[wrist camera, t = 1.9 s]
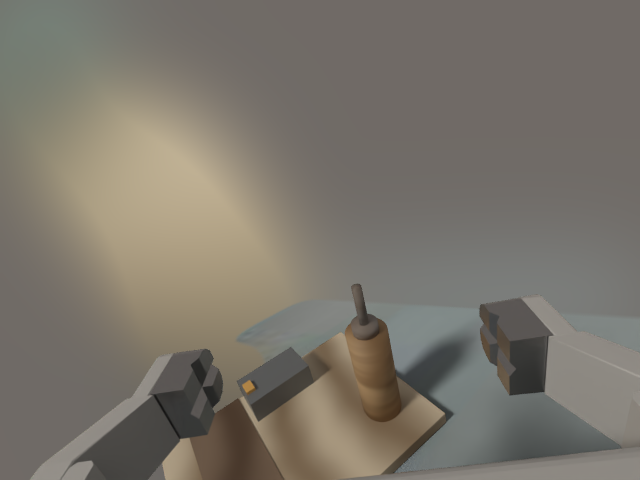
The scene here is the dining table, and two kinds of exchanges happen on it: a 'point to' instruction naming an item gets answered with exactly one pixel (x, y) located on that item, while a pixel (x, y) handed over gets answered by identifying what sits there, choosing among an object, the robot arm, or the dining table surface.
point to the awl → (372, 362)
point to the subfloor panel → (309, 432)
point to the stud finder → (275, 383)
